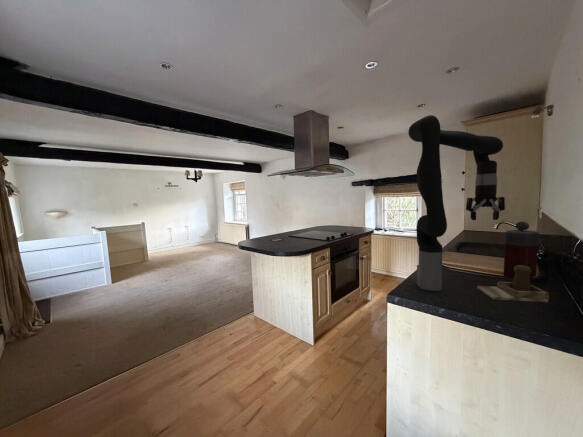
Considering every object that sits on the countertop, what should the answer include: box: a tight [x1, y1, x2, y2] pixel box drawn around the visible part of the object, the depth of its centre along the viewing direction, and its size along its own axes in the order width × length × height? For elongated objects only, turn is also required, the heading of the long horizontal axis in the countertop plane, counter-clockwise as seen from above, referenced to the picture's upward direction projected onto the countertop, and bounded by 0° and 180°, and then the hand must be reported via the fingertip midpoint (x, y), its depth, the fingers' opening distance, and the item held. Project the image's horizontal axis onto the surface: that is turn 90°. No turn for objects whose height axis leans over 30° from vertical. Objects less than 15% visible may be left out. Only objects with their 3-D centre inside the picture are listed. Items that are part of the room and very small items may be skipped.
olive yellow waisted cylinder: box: [512, 265, 531, 291], centre depth 98 cm, size 6×6×11 cm
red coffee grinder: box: [503, 220, 540, 282], centre depth 116 cm, size 9×11×28 cm
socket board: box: [476, 281, 550, 303], centre depth 98 cm, size 18×12×4 cm, turn 78°
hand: (484, 220), depth 108 cm, fingers open, 8 cm apart
